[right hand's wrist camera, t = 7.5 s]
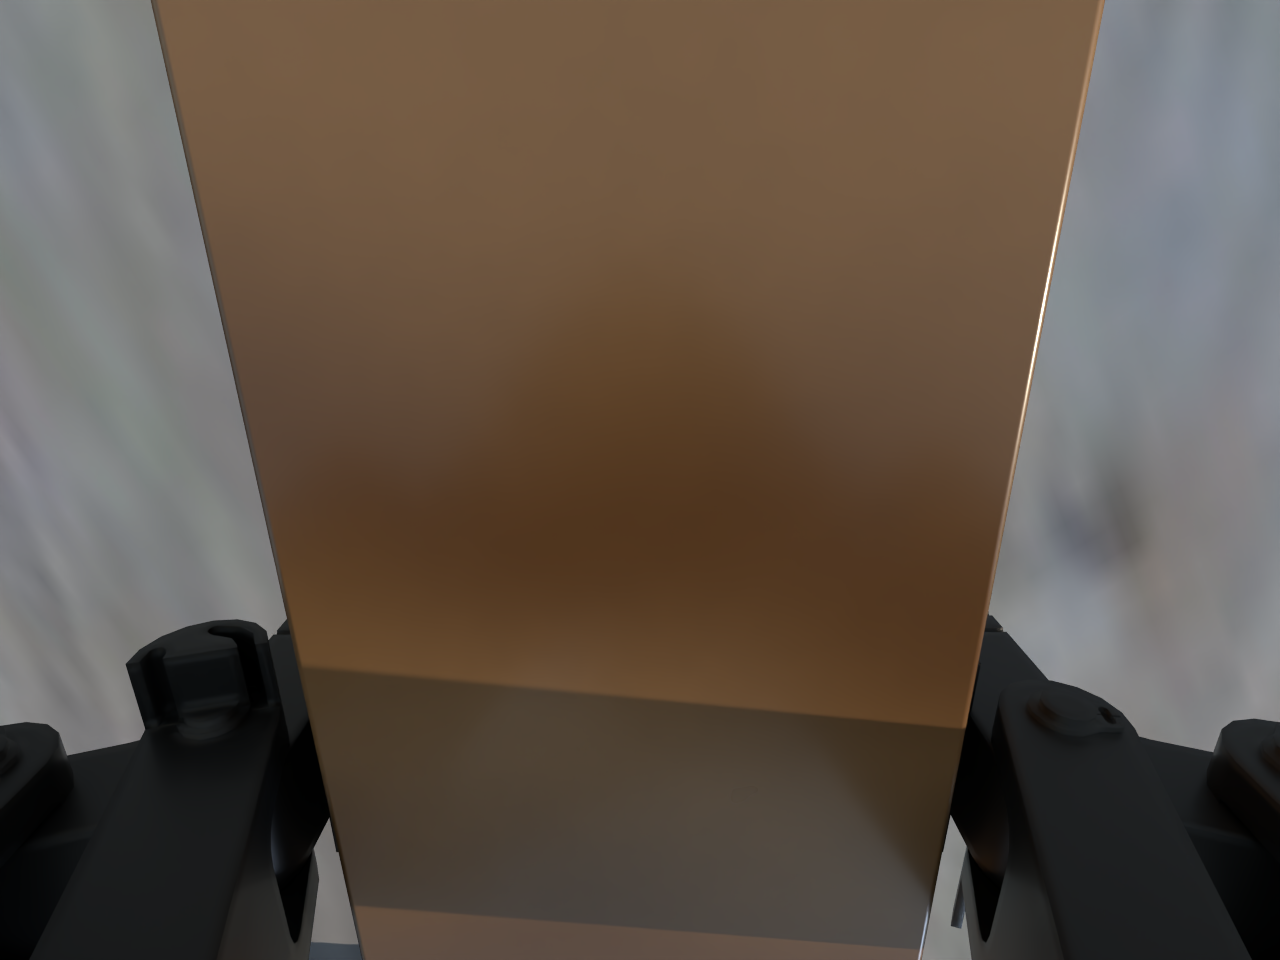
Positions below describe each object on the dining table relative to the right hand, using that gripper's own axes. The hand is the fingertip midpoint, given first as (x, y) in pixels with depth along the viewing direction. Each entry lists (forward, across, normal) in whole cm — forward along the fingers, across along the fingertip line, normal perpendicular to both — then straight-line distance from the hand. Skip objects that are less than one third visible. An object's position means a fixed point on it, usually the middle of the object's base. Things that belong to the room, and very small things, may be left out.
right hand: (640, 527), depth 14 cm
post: (0, 0, -34) cm, 34 cm away
